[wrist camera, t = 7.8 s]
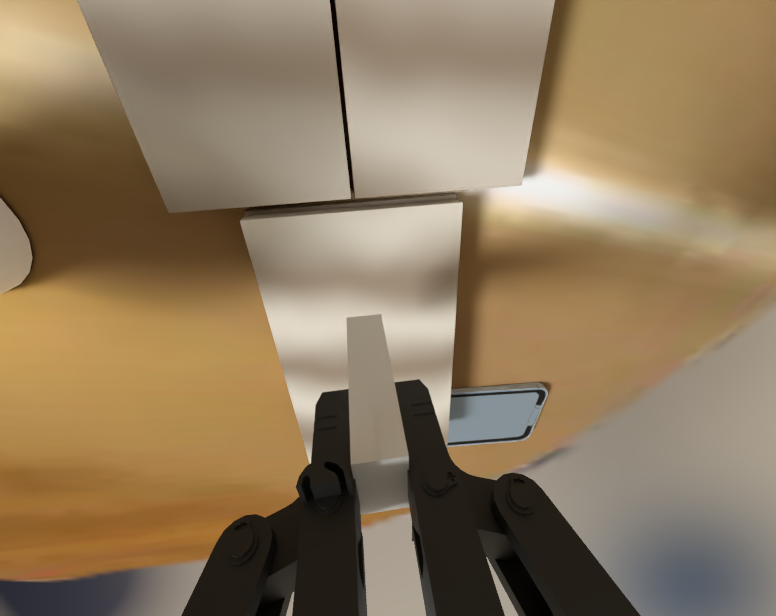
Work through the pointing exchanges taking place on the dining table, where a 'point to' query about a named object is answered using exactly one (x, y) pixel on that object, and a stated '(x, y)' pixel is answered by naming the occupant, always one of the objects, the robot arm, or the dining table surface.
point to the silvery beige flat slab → (359, 290)
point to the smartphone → (494, 413)
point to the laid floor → (324, 95)
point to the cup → (12, 250)
